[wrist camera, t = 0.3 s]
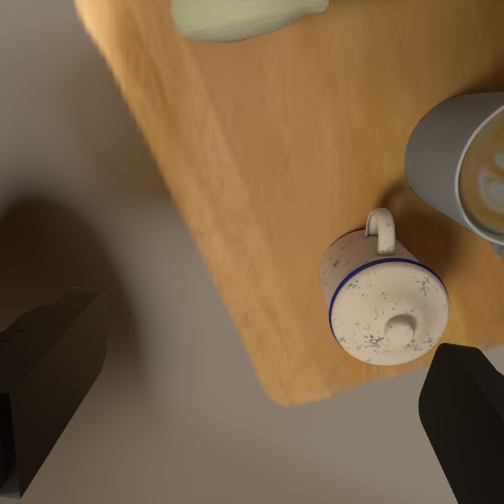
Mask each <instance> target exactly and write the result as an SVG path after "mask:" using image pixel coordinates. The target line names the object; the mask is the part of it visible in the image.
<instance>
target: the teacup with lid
mask: <svg viewBox="0 0 504 504" xmlns="http://www.w3.org/2000/svg"><path fill="white" fill-rule="evenodd" d="M320 282H321V286H322V290H323V293H324V296H325V300H326V303H327V306H328V310H329V323H330V327H331V331H332V333H333V335H334V337H335V339H336V340H337V342H338V343H339V344H340V346H341V347H342V348H343V349H344V350H346V351H347V352H348V353H349V354H351V355H352V356H354V357H355V358H357V359H359V360H361V361H364V362H367V363H370V364H375V365H397V364H402V363H406V362H409V361H411V360H414V359H416V358H418V357H420V356H421V355H423V354H425V353H426V352H427V351H429V350H430V349H431V348H432V347H433V346H434V345H435V344H436V343H437V342H438V340H439V339H440V338H441V336H442V335H443V333H444V331H445V329H446V326H447V323H448V320H449V315H450V303H449V297H448V293H447V290H446V288H445V286H444V284H443V282H442V281H441V279H440V278H439V277H438V276H437V275H436V274H435V273H434V272H433V271H432V270H431V269H429V268H428V267H426V266H425V265H423V264H421V263H420V262H419V261H418V260H417V259H416V258H415V257H414V256H413V255H412V254H411V253H410V252H409V251H408V250H407V249H406V247H405V246H404V245H403V244H402V243H401V242H400V241H399V240H397V239H396V238H395V224H394V219H393V216H392V214H391V212H390V211H389V210H388V209H386V208H375V209H373V210H372V211H371V212H370V213H369V215H368V218H367V223H366V230H359V231H355V232H352V233H349V234H347V235H345V236H343V237H341V238H340V239H338V240H337V241H336V242H335V243H334V244H333V245H332V246H331V247H330V248H329V249H328V250H327V252H326V254H325V255H324V257H323V260H322V262H321V266H320Z"/></svg>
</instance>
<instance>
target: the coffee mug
mask: <svg viewBox="0 0 504 504" xmlns="http://www.w3.org/2000/svg"><path fill="white" fill-rule="evenodd" d="M405 172H406V177H407V180H408V182H409V185H410V187H411V188H412V190H413V191H414V193H415V194H416V195H417V196H418V197H419V198H420V199H421V200H422V201H423V202H425V203H426V204H428V205H430V206H431V207H433V208H434V209H436V210H438V211H439V212H441V213H442V214H444V215H446V216H447V217H449V218H451V219H452V220H454V221H455V222H457V223H459V224H460V225H462V226H464V227H465V228H467V229H468V230H470V231H472V232H473V233H475V234H476V235H478V236H480V237H482V238H484V239H486V240H488V241H490V243H491V245H492V247H493V248H494V250H495V251H496V253H497V254H498V255H499V256H500V257H501V258H502V259H503V260H504V92H491V93H474V94H464V95H459V96H456V97H453V98H450V99H448V100H446V101H444V102H442V103H440V104H438V105H437V106H435V107H434V108H433V109H431V110H430V111H429V112H428V113H427V114H426V115H425V116H424V117H423V118H422V119H421V120H420V122H419V123H418V124H417V126H416V127H415V129H414V131H413V132H412V134H411V136H410V139H409V141H408V145H407V148H406V152H405Z"/></svg>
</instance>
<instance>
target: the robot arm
mask: <svg viewBox="0 0 504 504" xmlns="http://www.w3.org/2000/svg"><path fill="white" fill-rule="evenodd" d="M106 351H107V296H106V294H105V292H102V291H95V290H88V289H81V288H75V287H72V288H70V289H69V290H67V291H66V292H65V293H64V294H63V295H62V296H61V297H60V298H59V299H58V300H57V301H56V302H54V303H53V304H52V305H42V306H40V307H37V308H35V309H33V310H31V311H28V312H26V313H24V314H22V315H21V316H20V317H18V318H17V319H16V320H15V321H14V322H13V323H11V324H10V325H9V326H8V327H7V328H6V331H2V332H1V333H0V496H2V497H8V498H15V499H21V497H22V496H23V494H24V492H25V491H26V489H27V488H28V486H29V485H30V483H31V482H32V480H33V478H34V476H35V475H36V474H37V472H38V470H39V469H40V467H41V465H42V464H43V463H44V461H45V459H46V458H47V456H48V455H49V453H50V451H51V450H52V448H53V446H54V445H55V444H56V442H57V440H58V439H59V437H60V436H61V434H62V432H63V431H64V429H65V428H66V426H67V425H68V423H69V421H70V420H71V418H72V417H73V415H74V413H75V412H76V410H77V409H78V407H79V405H80V404H81V402H82V401H83V399H84V398H85V396H86V394H87V393H88V391H89V390H90V388H91V387H92V385H93V383H94V382H95V380H96V379H97V377H98V375H99V374H100V372H101V370H102V367H103V364H104V361H105V357H106ZM419 416H420V420H421V423H422V425H423V427H424V430H425V432H426V434H427V436H428V438H429V440H430V443H431V445H432V447H433V449H434V451H435V454H436V456H437V458H438V460H439V462H440V465H441V467H442V469H443V471H444V473H445V476H446V478H447V480H448V482H449V484H450V487H451V488H452V491H453V493H454V495H455V497H456V499H457V502H458V504H504V375H502V374H501V373H500V372H498V371H497V370H496V369H495V368H494V366H493V365H492V364H491V363H490V361H489V360H488V359H487V358H486V357H485V355H484V354H483V353H482V352H481V351H480V350H479V349H478V348H475V347H469V346H462V345H456V344H449V343H442V344H440V345H439V346H438V348H437V350H436V352H435V355H434V357H433V360H432V363H431V366H430V368H429V371H428V374H427V377H426V379H425V382H424V385H423V388H422V390H421V393H420V397H419Z"/></svg>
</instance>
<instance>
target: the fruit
mask: <svg viewBox="0 0 504 504" xmlns="http://www.w3.org/2000/svg"><path fill="white" fill-rule="evenodd" d="M328 8H329V0H171V13H172V17H173V20H174V24H175V27H176V29H177V30H178V31H179V33H180V34H181V35H183V36H184V37H187V38H190V39H192V40H195V41H202V42H220V43H230V42H238V41H241V40H245V39H247V38H251V37H256V36H259V35H262V34H266V33H271V32H274V31H277V30H279V29H282V28H284V27H286V26H288V25H290V24H292V23H293V22H295V21H296V20H297V19H299V18H300V17H302V16H303V15H306V14H316V13H325V12H326V11H327V10H328Z"/></svg>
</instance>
